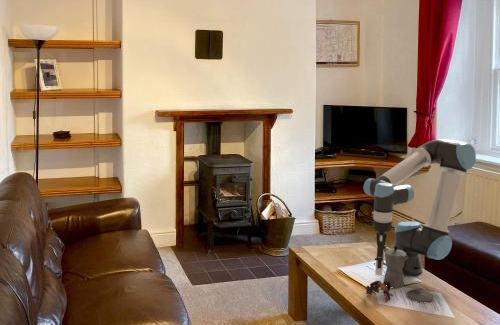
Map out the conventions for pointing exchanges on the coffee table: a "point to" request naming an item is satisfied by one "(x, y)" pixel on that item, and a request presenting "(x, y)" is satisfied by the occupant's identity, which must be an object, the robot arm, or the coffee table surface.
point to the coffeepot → (394, 266)
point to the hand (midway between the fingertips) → (379, 269)
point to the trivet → (420, 295)
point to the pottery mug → (375, 288)
